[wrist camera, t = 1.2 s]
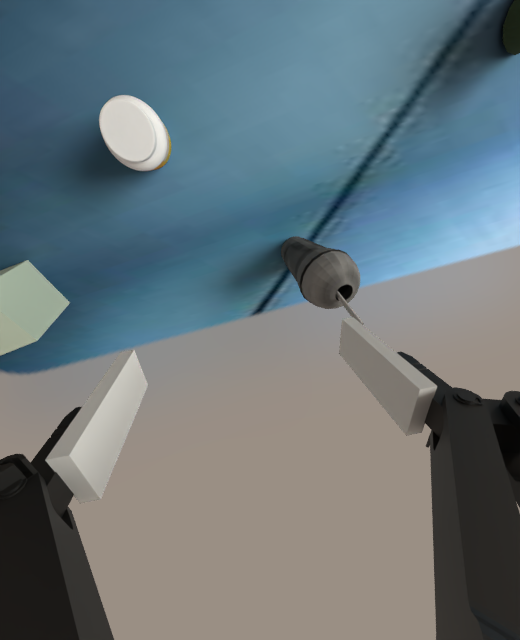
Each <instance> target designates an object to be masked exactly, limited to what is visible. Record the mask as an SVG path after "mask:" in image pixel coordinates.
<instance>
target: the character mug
mask: <svg viewBox="0 0 520 640" xmlns="http://www.w3.org/2000/svg"><path fill="white" fill-rule="evenodd" d="M503 44H504V46H505V48H506V50H507V52H509V53H511V54H513V55H516V54H518V53H520V0H514V2H513V3H512V5H511V6H510V8H509V11H508V14H507V17H506V20H505V23H504V26H503Z"/></svg>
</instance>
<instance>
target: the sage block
mask: <svg viewBox="0 0 520 640" xmlns="http://www.w3.org/2000/svg"><path fill="white" fill-rule="evenodd" d="M69 304H70V302H69V301H68V300H67V299H66V298H65V297H64V296H63V295H62V294H61V293H60V292H59V291H58V290H57V289H56V288H55V287H54V286H53V285H52V284H51V283H50V282H49V281H48V280H47V279H46V278H45V277H44V276H43V275H42V274H41V273H40V272H39V271H38V270H37V269H36V268H35V267H34V266H33V265H32V264H31V263H30V262H29V261H28V260H26V261H24V262H21V263H19V264H16V265H14V266H11V267H9V268H6V269H3V270H1V271H0V355H3V354H5V353H8V352H10V351H13V350H15V349H18V348H20V347H23V346H25V345H28V344H30V343H33V342H35V341H37V340H38V339H39V338H40V337H41V336H42V335H43V334H44V332H45V331H46V330H47V329H48V328H49V327H50V325H51V324H52V323H53V322H54V321H55V320H56V319H57V317H58V316H59V315H60V314H61V313H62V312H63V310H64V309H65V308H66V307H67V306H68V305H69Z"/></svg>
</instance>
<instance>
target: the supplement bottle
mask: <svg viewBox="0 0 520 640" xmlns="http://www.w3.org/2000/svg"><path fill="white" fill-rule="evenodd" d="M99 125H100V130H101V133H102V136H103V138H104V141H105V143H106V145H107V147H108V149H109V150H110V151H111V153H112V154H113V155H114V156H115V157H116V158H117V159H118V160H119V161H120V162H121V163H122V164H124V165H125V166H127V167H129V168H131V169H134V170H138V171H150V170H156V169H159V168H161V167H163V166H164V165H165V164H166V163H167V161H168V160H169V157H170V154H171V140H170V136H169V133H168V131H167V129H166V127H165V126H164V124H163V123H162V121H161V120H160V118H159V117H158V115H157V114H156V113H155V112H154V110H153V109H152V108H151V107H150V106H148V105H147V104H146V103H144V102H143V101H141V100H140V99H138V98H135V97H132V96H128V95H120V96H116V97H113V98H111V99H110V100H109V101H108V102H107V103H106V104H105V105H104V106H103V108H102V109H101V112H100V117H99Z"/></svg>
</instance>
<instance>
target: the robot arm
mask: <svg viewBox="0 0 520 640" xmlns="http://www.w3.org/2000/svg"><path fill="white" fill-rule="evenodd" d="M339 354H340V355H341V356H342V357H343V359H344V360H345V361H346V362H347V364H348V365H349V366H350V367H351V369H352V370H353V371H354V372H355V373H356V375H357V376H358V377H359V378H360V380H361V381H362V382H363V383H364V384H365V386H366V387H367V388H368V389H369V391H370V392H371V393H372V394H373V396H374V397H375V398H376V399H377V400H378V402H379V403H380V404H381V405H382V406H383V408H384V409H385V410H386V411H387V413H388V414H389V415H390V416H391V418H392V419H393V420H394V421H395V422H396V424H397V425H398V426H399V427H400V429H401V430H402V431H403V432H404V433H405V435H412V434H417V433H421V432H422V430H423V427H424V424H425V423H426V424H427V425H428V426H429V427H430V429H431V433H430V436H429V439H428V442H427V444H426V447H429V446H430V453H431V482H432V483H431V484H432V514H433V543H434V544H433V546H434V577H435V606H436V640H520V514H519V510H518V507H517V504H518V505H519V507H520V392H518V391H509V392H506V393H505V395H504V397H503V399H502V400H492V399H482V398H481V397H480V396H478V395H477V394H475V393H473V392H471V391H469V390H466V389H462V388H452V387H451V386H449V385H448V384H447V383H445V382H444V381H443V380H442V379H440V378H439V377H438V376H436V375H435V374H434V373H432V372H431V371H430V370H429V369H426V367H425V366H423V365H422V364H420V363H419V362H418V361H417V360H416V359H414V358H413V357H412V356H409V355H407V354H405V353H403V352H397V353H396V352H395V351H394V350H393V349H391V348H390V347H389V346H388V345H386V344H385V343H384V342H383V341H382V340H380V339H379V338H378V337H376V336H375V335H374V334H373V333H372V332H370V331H369V330H368V329H367V328H366V327H365V326H363V325H362V324H361V323H360V322H358V321H357V320H356V319H355V318H354V317H350V318H344V319H342V325H341V338H340V350H339ZM147 386H148V384H147V381H146V379H145V377H144V374H143V371H142V369H141V367H140V364H139V361H138V359H137V356H136V354H135V351H134V350H131V351H124V352H120V354H119V355H118V357H117V358H116V359H115V361H114V362H113V364H112V365H111V367H110V368H109V370H108V371H107V372H106V374H105V375H104V377H103V378H102V380H101V381H100V383H99V384H98V385H97V387H96V388H95V389H94V391H93V392H92V394H91V395H90V397H89V398H88V399H87V401H86V402H85V404H84V405H83V406H82V407H77V408H75V409H74V410H73V411H71V412H70V413H69V414H68V415H67V416H66V417H65V418H64V419H63V420H62V422H61V423H60V424H59V426H58V427H57V429H56V430H55V431H54V432H53V434H52V435H51V438H49V439H48V440H47V442H46V443H45V444H44V446H43V447H42V448H41V450H40V451H39V452H38V454H37V455H36V456H35V458H34V459H33V460H32V462H31V463H30V462H29V461H28V460H27V459H26V457H25V456H24V455H23V454H14V455H10V456H7V457H5V458H3V459H1V460H0V640H114V638H113V635H112V632H111V629H110V626H109V623H108V620H107V617H106V614H105V611H104V608H103V605H102V602H101V599H100V596H99V593H98V590H97V587H96V584H95V581H94V578H93V575H92V572H91V569H90V565H89V562H88V560H87V556H86V553H85V550H84V547H83V544H82V541H81V538H80V535H79V532H78V529H77V526H76V523H75V520H74V517H73V514H72V511H71V510H70V509H69V507H68V505H69V503H70V501H71V499H72V497H73V495H74V497H75V498H76V499H77V500H78V501H79V503H85V502H90V501H95V500H99V499H101V497H102V495H103V492H104V490H105V487H106V485H107V483H108V480H109V478H110V476H111V473H112V471H113V468H114V466H115V463H116V461H117V459H118V456H119V454H120V451H121V449H122V447H123V444H124V442H125V439H126V437H127V435H128V432H129V430H130V427H131V425H132V422H133V420H134V418H135V415H136V413H137V410H138V408H139V405H140V403H141V401H142V398H143V396H144V394H145V391H146V389H147ZM516 502H517V503H516Z"/></svg>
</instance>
